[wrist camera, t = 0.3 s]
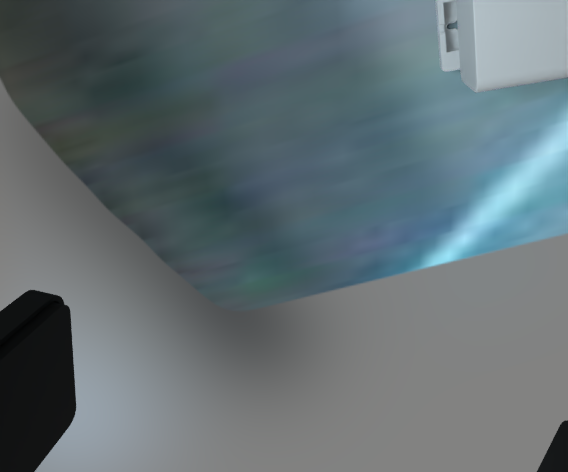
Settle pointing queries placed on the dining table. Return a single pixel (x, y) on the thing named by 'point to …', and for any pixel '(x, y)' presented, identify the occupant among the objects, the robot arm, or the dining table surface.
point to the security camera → (503, 41)
